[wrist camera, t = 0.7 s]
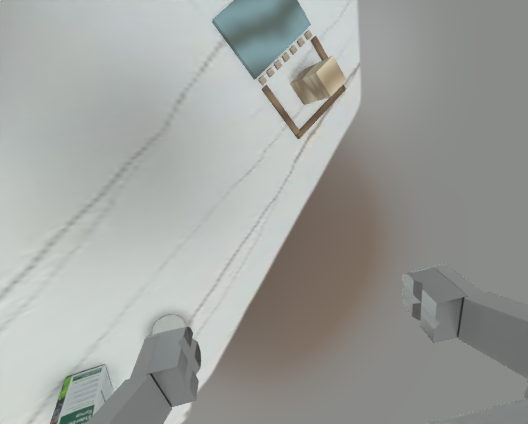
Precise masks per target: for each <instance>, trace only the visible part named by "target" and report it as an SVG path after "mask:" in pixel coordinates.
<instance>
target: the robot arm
mask: <svg viewBox="0 0 528 424" xmlns="http://www.w3.org/2000/svg"><path fill="white" fill-rule="evenodd" d="M402 283H403V284H404V285H405V286H406V287H405V288H404V289H403V291H402V299H403V302H404V305H405V307H406V309H407V310H408V312H409V313H410V314H411V316H412V317H414V318H416V319H418V320H420V321H421V322H420V327H421V328H422V330H423V331H424V332H425V333H426V334H427V336H428V337H429V338H430V339H431V341H432V342H433V343H435V342H439V341H444V340H449V339H454V338H458V339H459V340H461V341H463V342H464V343H466V344H468V345H470V346H471V347H473V348H475V349H477V350H478V351H480V352H482V353H484V354H485V355H487V356H489V357H491V358H492V359H494V360H496V361H497V362H499V363H501V364H503V365H504V366H506V367H508V368H510V369H511V370H513V371H515V372H516V373H518V374H520V375H522V376H523V377H525V378H527V379H528V305H527V304H524V303H521V302H518V301H515V300H512V299H509V298H506V297H503V296H499V295H496V294H493V293H491V292H486V293H484V292H483V291H481V290H480V289H479V288H477V287H476V286H475V285H474V284H472V283H471V282H470V281H468V280H467V279H466V278H465V277H463V276H462V275H461V274H459V273H458V272H457V271H456V270H454V269H453V268H452V267H450V266H449V265H447V264H440V265H436V266H432V267H428V268H424V269H420V270H416V271H412V272H409V273H405V274H403V276H402ZM192 336H193V332H192V330H191V328H190V327H183V328H178V329H174V330H169V331H164V332H161V333H156V334H152V335H148V336H147V337H146V338H145V340H144V343H143V346H142V348H141V351H140V353H139V356H138V359H137V361H136V364H135V367H134V369H133V372H132V374H131V377H130V379H128V380H125V381H124V382H123V383H122V385H121V386H120V387H119V388H118V389H117V390H116V391H115V392H114V393H113V394H112V395H111V397H110V398H109V399H108V400H107V401H106V402H105V403H104V404H103V405H102V406H101V407H100V409H99V410H98V411H97V412H96V413H95V414H94V415H93V416H92V417H91V418H90V419H89V421H88V422H87V423H86V424H163V423H164V421H165V420H166V418H167V416H168V415H169V413H170V411H171V410H172V408H171V407H174V406H178V405H182V404H185V403H189V402H193V401H195V400H196V396H197V389H198V382H199V381H198V379H197V377H196V374H197V372H198V371H199V369H200V366H201V352H200V348H199V345H198V342H197V341H196V340H194V339H192ZM524 398H525V399H523V400H519V401H515V402H511V403H507V404H503V405H499V406H494V407H491V408H486V409H482V410H478V411H474V412H470V413H466V414H461V415H458V416H453V417H449V418H445V419H441V420H437V421H433V422H429V423H425V424H528V382H527V384H526V388H525V390H524Z"/></svg>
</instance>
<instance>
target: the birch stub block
mask: <svg viewBox="0 0 528 424" xmlns="http://www.w3.org/2000/svg"><path fill="white" fill-rule="evenodd" d="M345 82H346V78H345V76H344V74H343V73H342V71H341V69H340V67H339V65H338V64H337V62H336V60H335V58H334V56H331V57H329V58H327V59H325V60H323V61H321V62H319V63H317V64H315V65H313V66H311V67H309V68H307V69H305V70H304V71H303V72H302V73H301V74H300V75H299V76H298V77H297V78H296V79H295V80H294V81H293V82H292V83H291V84H290V85H291V86H292V88H293V89H294V91H295V92H296V94H297V95H298V97H299V98H300V100H301V101H302V103H303V104H308V103H312V102H315V101H319V100H322V99H326V98H329V97H331V96H332V95H333V94H334V93H335V92H336V91H337V90H338V89H339V88H340V87H341V86H342V85H343V84H344V83H345Z"/></svg>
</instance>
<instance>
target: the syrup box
mask: <svg viewBox="0 0 528 424" xmlns="http://www.w3.org/2000/svg"><path fill="white" fill-rule="evenodd" d="M112 391H113V389H112V386H111V383H110V379H109V376H108V373H107V370H106V366H105V365H101V366H100V367H96V368H93V369H90V370H87V371H84V372H82V373H79V374H76V375H73V376H70V377H67V378H66V379H65V381H64V384H63V387H62V390H61V393H60V396H59V399H58V402H57V405H56V408H55V411H54V413H53V416H52V419H51V422H50V424H86V423H87V422H88V421H89V419H90V418H91V417H92V416H93V415H94V414H95V413H96V412H97V411H98V410H99V409H100V407H101V406H102V405H103V404H104V403H105V402H106V401H107V400H108V399H109V398H110V397H111V395H112Z"/></svg>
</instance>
